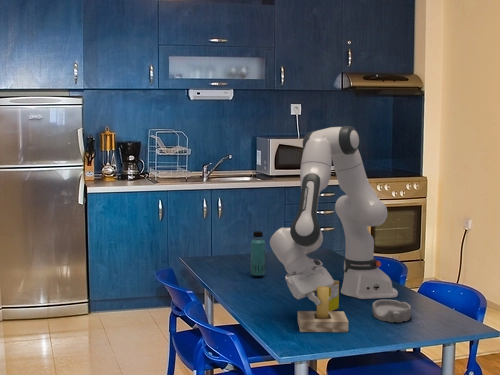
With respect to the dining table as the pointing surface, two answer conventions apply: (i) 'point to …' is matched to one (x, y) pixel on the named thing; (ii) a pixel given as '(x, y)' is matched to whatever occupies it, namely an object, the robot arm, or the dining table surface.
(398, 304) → the dish
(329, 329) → the hole block
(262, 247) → the beverage bottle
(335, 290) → the supplement box
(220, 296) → the dining table surface
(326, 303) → the pin
